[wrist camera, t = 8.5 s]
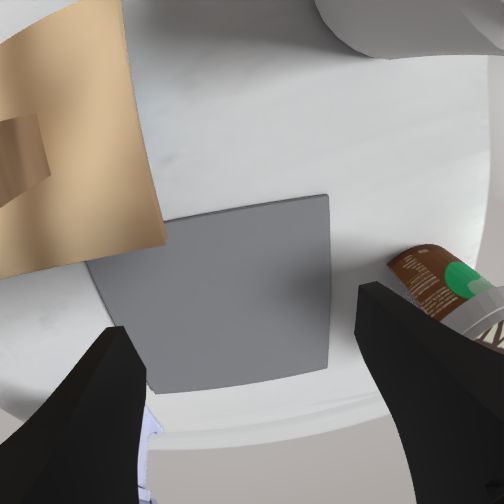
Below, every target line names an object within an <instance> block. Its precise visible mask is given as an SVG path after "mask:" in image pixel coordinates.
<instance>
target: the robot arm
mask: <svg viewBox="0 0 504 504" xmlns="http://www.w3.org/2000/svg"><path fill="white" fill-rule="evenodd" d="M354 335H355V337H356V340H357V343H358V346H359V349H360V351H361V354H362V356H363V359H364V361H365V363H366V365H367V367H368V369H369V371H370V373H371V375H372V377H373V379H374V381H375V383H376V385H377V387H378V389H379V391H380V393H381V395H382V397H383V399H384V401H385V403H386V405H387V407H388V409H389V411H390V413H391V415H392V417H393V419H394V422H395V424H396V427H397V429H398V433H399V436H400V438H401V442H402V445H403V448H404V451H405V455H406V458H407V462H408V465H409V469H410V473H411V477H412V482H413V486H414V491H415V495H416V502H417V504H504V355H503V354H501V353H499V352H496V351H494V350H492V349H489V348H487V347H485V346H483V345H481V344H479V343H477V342H475V341H473V340H471V339H469V338H467V337H465V336H463V335H461V334H460V333H458V332H456V331H455V330H453V329H451V328H449V327H448V326H446V325H444V324H442V323H441V322H439V321H438V320H436V319H434V318H433V317H431V316H430V315H428V314H426V313H425V312H423V311H422V310H420V309H419V308H417V307H416V306H414V305H413V304H411V303H410V302H408V301H407V300H405V299H404V298H402V297H401V296H399V295H398V294H396V293H395V292H393V291H392V290H390V289H388V288H387V287H385V286H384V285H382V284H380V283H379V282H377V281H376V282H371V283H367V284H363V285H359V289H358V301H357V312H356V322H355V331H354ZM146 373H147V368H146V367H145V365H144V363H143V361H142V360H141V358H140V356H139V354H138V352H137V351H136V349H135V347H134V345H133V343H132V341H131V339H130V337H129V335H128V334H127V332H126V330H125V328H124V326H115V327H107V328H106V329H105V330H104V331H103V332H102V333H101V334H100V335H99V337H98V338H97V339H96V340H95V341H94V343H93V344H92V345H91V346H90V348H89V349H88V350H87V351H86V353H85V354H84V355H83V356H82V358H81V359H80V360H79V361H78V363H77V364H76V365H75V366H74V368H73V369H72V370H71V372H70V373H69V374H68V375H67V377H66V378H65V379H64V380H63V381H62V382H61V384H60V385H59V386H58V387H57V388H56V390H55V391H54V392H53V393H52V394H51V396H50V397H49V398H48V399H47V400H46V402H45V403H44V404H43V405H42V406H41V407H40V408H39V409H38V410H37V411H36V412H35V413H34V414H33V415H32V416H31V417H30V418H29V419H28V420H27V422H25V423H24V424H23V425H22V426H21V427H20V428H19V429H18V430H17V431H16V432H14V433H13V434H12V435H11V436H10V437H9V438H8V439H7V440H5V441H4V442H3V443H2V444H1V445H0V504H158V503H157V501H156V500H155V499H153V498H150V491H149V490H146V489H145V487H146V472H147V458H148V446H149V435H158V434H163V433H164V430H163V429H162V428H161V426H160V425H159V424H158V423H157V421H156V420H155V419H154V417H153V416H152V415H151V413H150V412H149V411H148V409H147V408H146V407H145V400H146Z"/></svg>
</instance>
